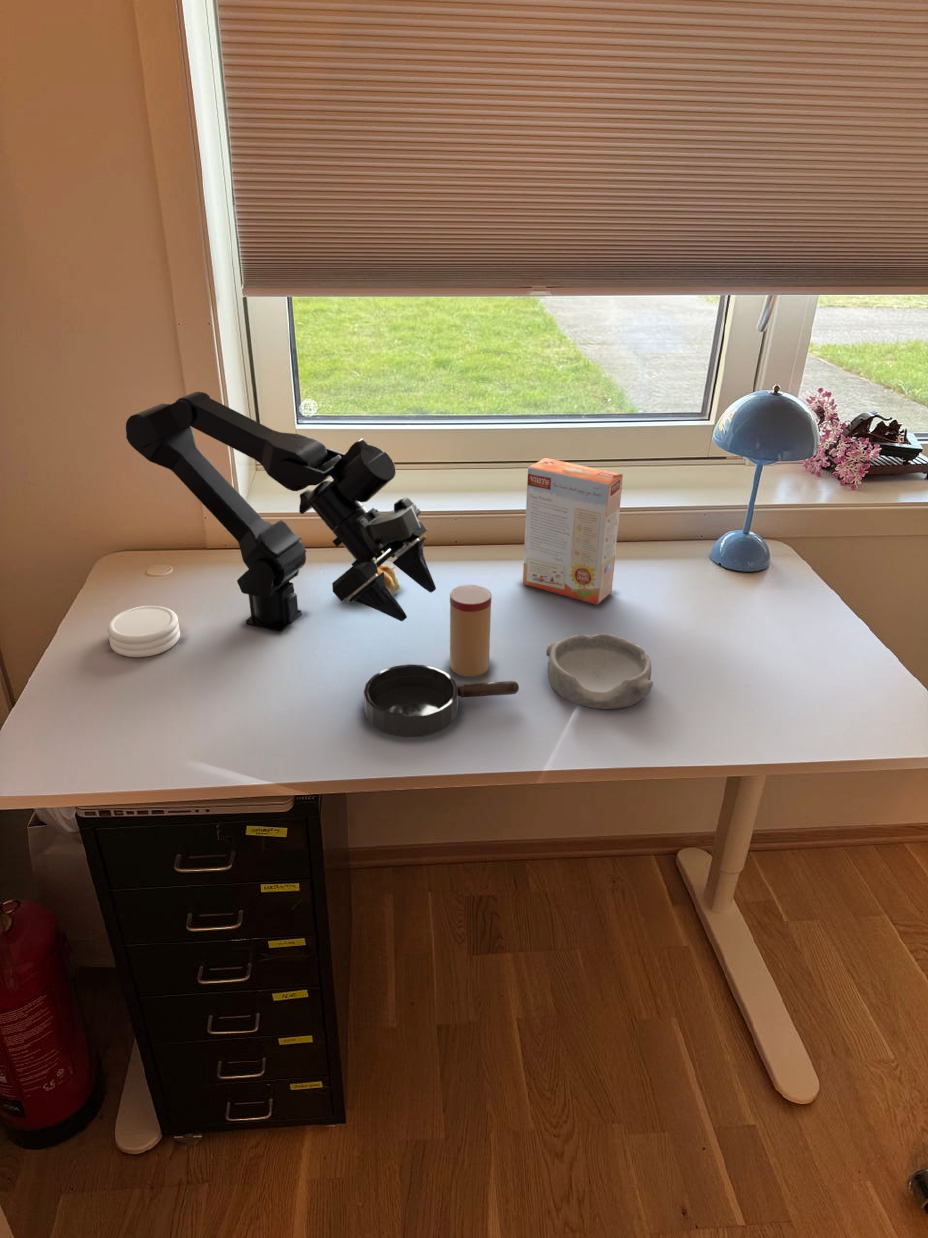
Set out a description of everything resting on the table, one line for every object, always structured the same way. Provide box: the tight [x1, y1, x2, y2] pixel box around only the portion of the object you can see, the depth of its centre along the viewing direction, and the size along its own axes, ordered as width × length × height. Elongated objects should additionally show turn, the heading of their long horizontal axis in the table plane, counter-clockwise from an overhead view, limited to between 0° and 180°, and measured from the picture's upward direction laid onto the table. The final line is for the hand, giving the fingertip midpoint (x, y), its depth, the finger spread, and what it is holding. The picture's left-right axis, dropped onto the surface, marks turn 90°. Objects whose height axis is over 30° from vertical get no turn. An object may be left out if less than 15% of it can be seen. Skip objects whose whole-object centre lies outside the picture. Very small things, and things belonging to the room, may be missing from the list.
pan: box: [363, 664, 459, 738], centre depth 123 cm, size 12×12×4 cm
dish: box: [545, 632, 654, 710], centre depth 128 cm, size 14×14×5 cm
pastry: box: [345, 564, 401, 600], centre depth 151 cm, size 9×7×4 cm
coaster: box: [106, 605, 181, 658], centre depth 137 cm, size 10×10×4 cm
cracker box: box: [522, 457, 624, 606], centre depth 149 cm, size 14×6×21 cm, turn 58°
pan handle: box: [457, 680, 520, 699], centre depth 123 cm, size 8×2×2 cm, turn 98°
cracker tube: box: [449, 584, 493, 677], centre depth 130 cm, size 6×6×12 cm
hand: (419, 604), depth 131 cm, fingers open, 9 cm apart
